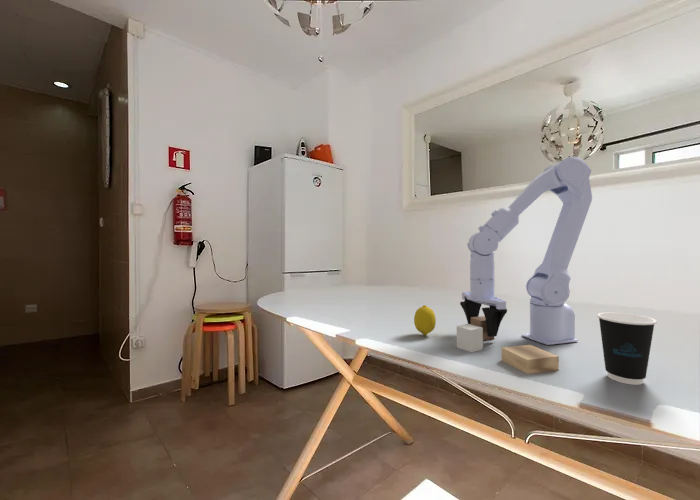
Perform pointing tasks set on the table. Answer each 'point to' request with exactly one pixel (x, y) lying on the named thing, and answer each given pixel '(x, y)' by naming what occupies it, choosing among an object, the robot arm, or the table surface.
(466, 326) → the grey block
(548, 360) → the oak slab
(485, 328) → the walnut block
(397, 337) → the table surface
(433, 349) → the table surface
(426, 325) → the lemon
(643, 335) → the dixie cup
